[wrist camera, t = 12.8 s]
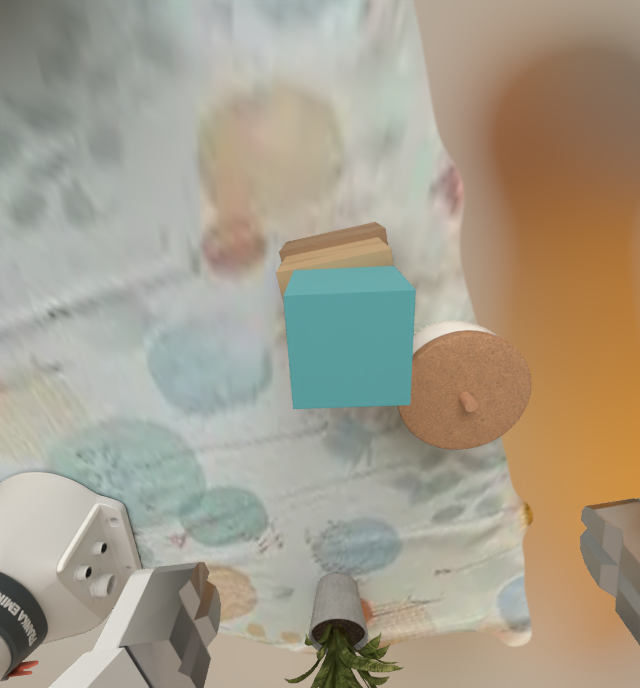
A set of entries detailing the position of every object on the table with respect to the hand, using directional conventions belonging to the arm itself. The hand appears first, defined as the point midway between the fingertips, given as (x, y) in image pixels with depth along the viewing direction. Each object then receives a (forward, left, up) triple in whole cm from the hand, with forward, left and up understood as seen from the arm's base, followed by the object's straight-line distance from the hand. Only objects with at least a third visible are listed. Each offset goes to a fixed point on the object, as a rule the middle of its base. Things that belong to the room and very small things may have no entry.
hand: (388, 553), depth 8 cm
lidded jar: (-10, -8, -29) cm, 32 cm away
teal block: (0, 0, -17) cm, 17 cm away
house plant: (-42, +8, -29) cm, 52 cm away
